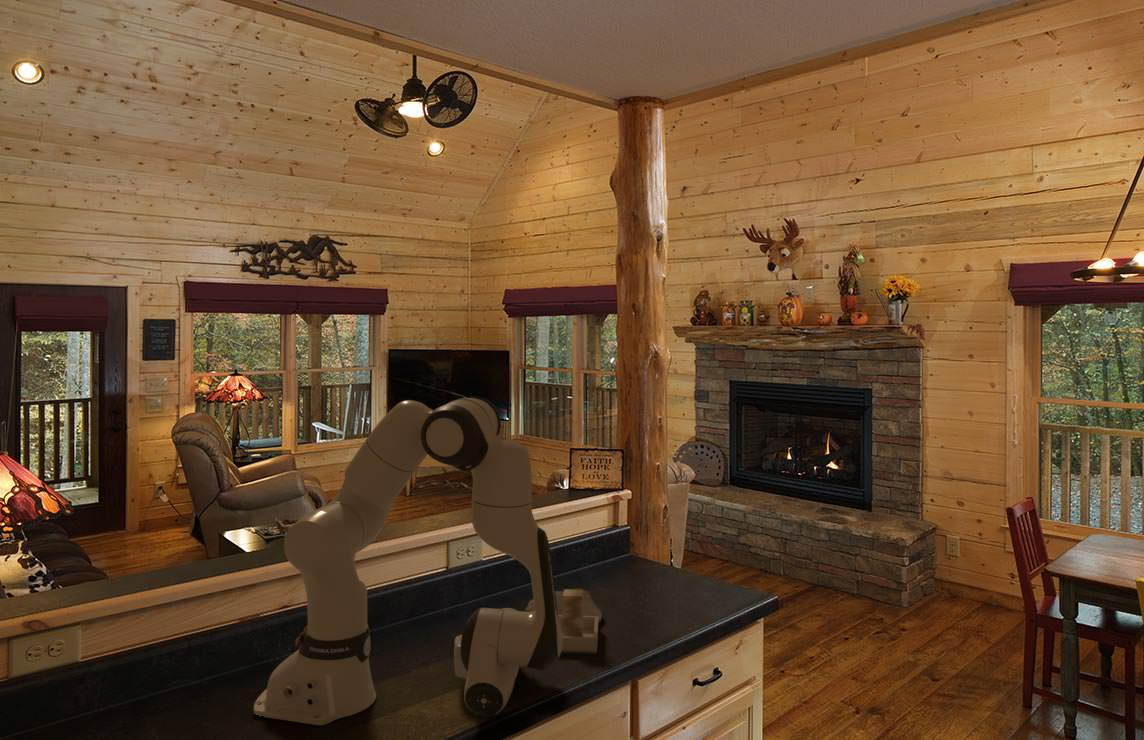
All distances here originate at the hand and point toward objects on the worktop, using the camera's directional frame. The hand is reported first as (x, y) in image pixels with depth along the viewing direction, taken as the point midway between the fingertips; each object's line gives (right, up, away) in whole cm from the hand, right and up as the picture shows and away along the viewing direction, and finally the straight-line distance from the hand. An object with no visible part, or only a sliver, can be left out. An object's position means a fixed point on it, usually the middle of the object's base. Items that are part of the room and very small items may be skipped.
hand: (507, 634), depth 163 cm
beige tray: (+8, -6, +13) cm, 17 cm away
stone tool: (+13, -6, +31) cm, 34 cm away
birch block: (+14, -6, +13) cm, 20 cm away
